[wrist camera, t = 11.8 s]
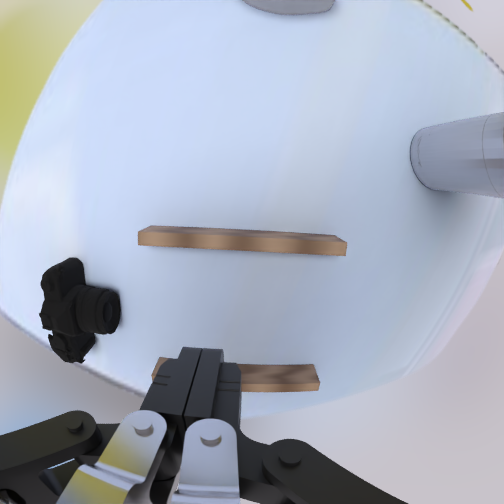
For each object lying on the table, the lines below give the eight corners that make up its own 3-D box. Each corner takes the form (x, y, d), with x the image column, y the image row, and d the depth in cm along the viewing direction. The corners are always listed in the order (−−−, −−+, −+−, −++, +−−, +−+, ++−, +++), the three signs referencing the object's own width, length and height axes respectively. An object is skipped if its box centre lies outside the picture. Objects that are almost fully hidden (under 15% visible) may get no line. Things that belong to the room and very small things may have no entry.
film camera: (128, 350, 37) (106, 386, 28) (78, 340, 37) (51, 370, 28) (117, 255, 34) (83, 276, 25) (63, 251, 33) (25, 268, 24)
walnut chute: (334, 235, 34) (347, 242, 29) (311, 371, 39) (318, 390, 34) (150, 225, 33) (137, 231, 28) (160, 364, 38) (153, 383, 33)
